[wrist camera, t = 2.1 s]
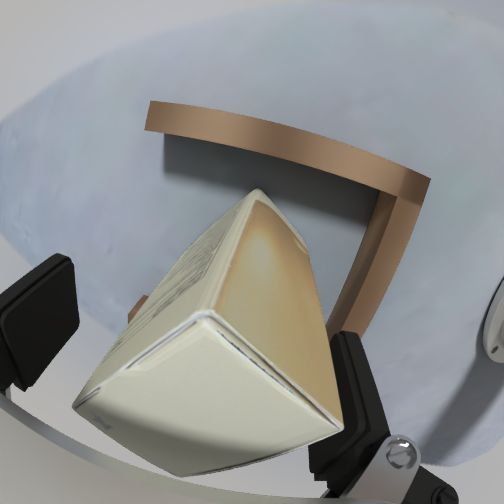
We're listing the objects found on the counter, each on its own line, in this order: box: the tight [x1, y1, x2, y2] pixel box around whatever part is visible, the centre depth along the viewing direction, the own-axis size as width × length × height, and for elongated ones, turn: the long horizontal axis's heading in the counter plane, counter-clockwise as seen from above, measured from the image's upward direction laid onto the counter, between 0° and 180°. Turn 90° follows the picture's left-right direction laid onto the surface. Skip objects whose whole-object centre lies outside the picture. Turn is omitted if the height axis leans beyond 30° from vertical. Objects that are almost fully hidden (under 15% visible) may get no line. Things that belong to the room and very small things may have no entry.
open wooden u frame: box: [128, 101, 431, 342], centre depth 15 cm, size 14×14×2 cm
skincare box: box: [72, 188, 344, 477], centre depth 11 cm, size 6×4×12 cm
